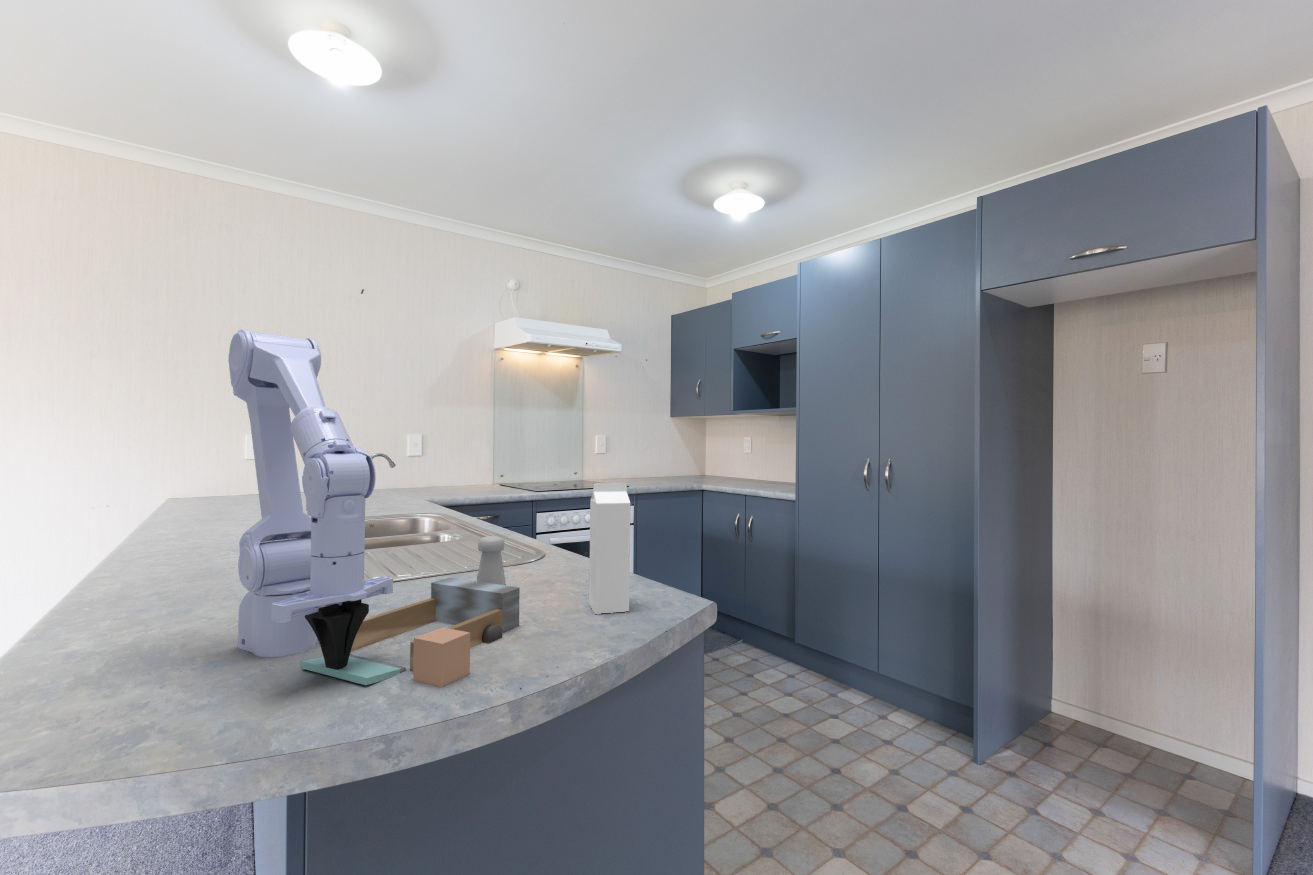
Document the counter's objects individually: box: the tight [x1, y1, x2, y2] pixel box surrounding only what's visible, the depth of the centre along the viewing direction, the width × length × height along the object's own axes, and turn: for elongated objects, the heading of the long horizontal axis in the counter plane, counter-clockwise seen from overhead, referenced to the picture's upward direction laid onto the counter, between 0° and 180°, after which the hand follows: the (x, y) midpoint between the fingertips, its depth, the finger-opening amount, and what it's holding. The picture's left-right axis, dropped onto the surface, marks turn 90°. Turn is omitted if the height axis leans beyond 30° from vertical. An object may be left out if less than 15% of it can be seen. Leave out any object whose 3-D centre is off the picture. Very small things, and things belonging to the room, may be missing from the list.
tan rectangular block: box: [412, 626, 471, 688], centre depth 71 cm, size 4×4×6 cm
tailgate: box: [300, 653, 407, 686], centre depth 73 cm, size 11×1×6 cm
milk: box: [588, 482, 631, 615], centre depth 104 cm, size 6×6×22 cm
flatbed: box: [351, 577, 521, 672], centre depth 85 cm, size 16×20×7 cm
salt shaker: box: [476, 535, 507, 586], centre depth 100 cm, size 6×6×13 cm
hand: (336, 666), depth 71 cm, fingers closed
